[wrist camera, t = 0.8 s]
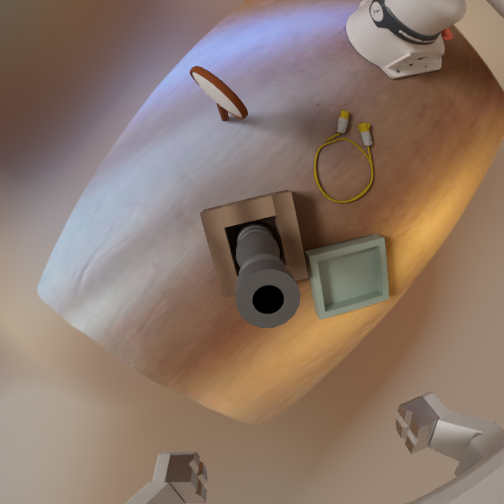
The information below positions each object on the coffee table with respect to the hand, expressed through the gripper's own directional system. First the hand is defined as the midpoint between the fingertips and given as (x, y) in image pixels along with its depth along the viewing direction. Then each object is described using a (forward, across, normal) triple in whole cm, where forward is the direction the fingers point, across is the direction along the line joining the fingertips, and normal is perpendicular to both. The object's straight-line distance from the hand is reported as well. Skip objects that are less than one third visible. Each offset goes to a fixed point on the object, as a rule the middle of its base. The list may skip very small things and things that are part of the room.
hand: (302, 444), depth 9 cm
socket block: (+41, -1, -1) cm, 41 cm away
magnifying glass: (+41, 0, -22) cm, 46 cm away
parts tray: (+41, -17, +9) cm, 45 cm away
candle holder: (+42, -1, -1) cm, 42 cm away
